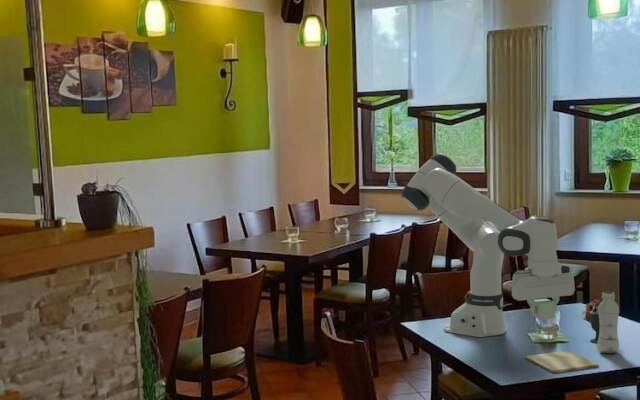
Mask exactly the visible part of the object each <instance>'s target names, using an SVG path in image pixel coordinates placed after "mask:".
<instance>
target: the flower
mask: <svg viewBox="0 0 640 400" xmlns="http://www.w3.org/2000/svg"><path fill="white" fill-rule="evenodd" d="M602 299H603V298H600V299H596V298H595V299H594V300H593V301H590V302H589V303H586V305H585V306H583V307H584V308H585V310H583V311H582V312H581V314H582V315H584V317H585V318H586V319H588V320H589V319H590V315H589V314H588V312H589V311H590V305H591V306H594V305H598V303H600V302H602Z"/></svg>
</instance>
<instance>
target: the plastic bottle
mask: <svg viewBox="0 0 640 400" xmlns="http://www.w3.org/2000/svg"><path fill="white" fill-rule="evenodd" d="M601 295H602V296H601V299H603V300H602V302H601V303H600V304H599V306H598V314H599V324H600V330H599V338H598V343H596V344H597V350H599V352H601V353H603V354H616V353H617V352H618V351H619V349H620V348H619V347H620V342H619V335H618V324H619V323H618V322H619V314H620V306H619V304H618V303H617V302H616V301H615V299H616V297H615V295H616V294H615V292H614V291H613V292H612V291H603V292H602V294H601Z"/></svg>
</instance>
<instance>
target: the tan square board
mask: <svg viewBox="0 0 640 400" xmlns="http://www.w3.org/2000/svg"><path fill="white" fill-rule="evenodd" d="M525 360H527V361H529V362H530V363H533V364H534V365H537V364H538V365H537V366H539V367H540V366H541V368H542V367H543V368H542V369H544V368H545V370H546V369H547V371H548V372H550V373H551V374H558V373H565V372H571V371H572V372H573V371H579V370H586V369H594V368H599V366H600V364H599V363H598V362H597V363H596V362H594V361H592V360H590V359H588V358H586V357H584V356H581V355H579V354H577V353H575V352H572V351H571V350H569V349H568V350H561V351H555V352H546V353H541V354H540V353H539V354H533V355H532V354H531V355H525Z"/></svg>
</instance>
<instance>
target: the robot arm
mask: <svg viewBox="0 0 640 400" xmlns="http://www.w3.org/2000/svg"><path fill="white" fill-rule="evenodd" d="M456 173H457V165H456V163H455V162H454V160H452V158H450V156H448V155H447V154H444V153H441V152H439V153H438V152H436V153H435V154H433V155H432V156H430V157H429V160H427V161H426V162H424V163H423V165H422V166H420V168H419V169H418V170H417V171H416V172H415V174H414V175H413V176H412V178H411V179H410V180H409V182H408V183H407V185H404V187H403V189H402V192H401V198H402V199H403V201H404V203H405V204H406V205H407V206H408V207H409V208H411V209H413V210H416V211H424V210H425V209H427V208H428V209H429V210H430V211H431V212H432V213H433V214H434V215H435V216H436V217H437V218H438V219H439V220H440V221H441V222H442V224H443V223H444V225H445V226H446V227H448V228H449V229H450V230H451V232H452V233H453V234H454V235H455V236H457V238H458V239H459V240H461V242H462V243H464V245H465V246H467V248H469V250H471V252H473V260H472V264H471V265H472V266H471V269H470V272H469V278H470V280H469V281H470V283H469V284H470V290H468V291H467V292H466V294H465V296H464V300H465V302H464V303H463V304H461V305H460V306H459V307H458V308H456V309H455V310H453V312H452V313H451V315H450V320H449V322H448V323H446V324H445V325H444V327H443V332H446V333H451V334H458V335H462V336H471V337H477V338H484V337H491V336H498V335H503V334H505V333H506V332H507V327H506V325H505V324H506V323H505V321H504V315H503V307H504V297H503V292H502V270H503V262H504V255H505V256H508V257H519V256H524V255H525V256H527V268H528V269H523V270H521V269H518V270H516V271H515V272H514V273H513V274H512V277H511V278H512V286H511V297H512V298H513V299H514V300H515V301H519V302H521V301H527V304H528V305H529V307H530V313H537V312H538V311H537V310H538V309H537V307H535V306H534V304H533V303H534V300H538V299H549V298H551V299H552V301H554V302H555V312H556V311H557V305H558V303H559V302H560V297H567V296H573V294H575V291H576V287H575V278H574V275H573V266H571V265H568V264H566V263H562V262H560V261H558V254H557V247H558V232H557V226H556V225H557V224H556V222H555V221H554V219H552V218H550V217H548V216H543V215H531V216H530V217H529V218H527V219H524V218H523V219H522V218H520V217H518V216H516V214H513V212H510V211H509V210H507V209H506V208H504V207H502V206H501V205H499V204H497V203H496V202H494V200H492V199H489V198H488V197H487V196H485V195H484V194H482V193H481V192H480V191H478V190H477V189H475V188H474V187H473V186H472V185H470V184H468V183H467V182H466V181H465V180H463V179H462V178H460V177H459V176H458V175H456ZM486 221H487V222H488V223H489V222H490V223H491V224H493V225H494V226H496V227H497V228H498V229H500V230H501V231H500V230H498V229H496V228H494V227H492V226H490V225H489V224H488V223H487V222H486Z"/></svg>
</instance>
